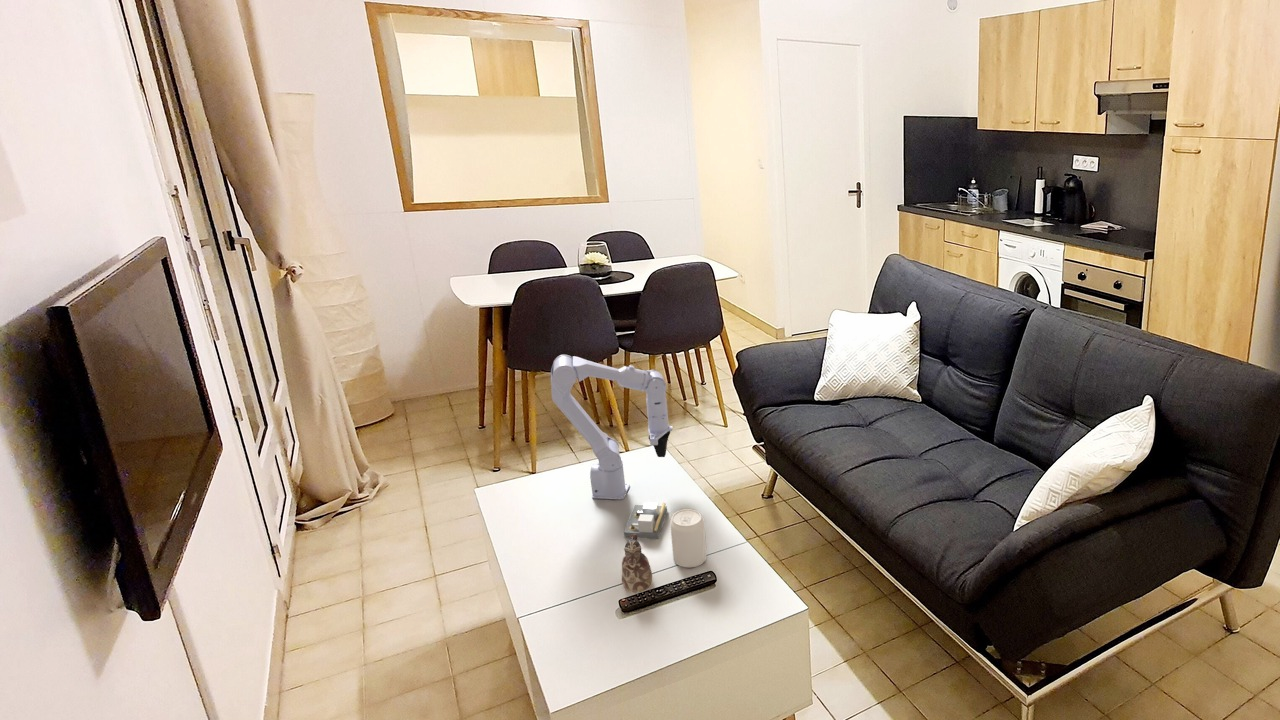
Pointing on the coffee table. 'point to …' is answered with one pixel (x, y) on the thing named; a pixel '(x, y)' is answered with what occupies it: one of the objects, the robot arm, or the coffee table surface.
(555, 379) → the robot arm
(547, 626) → the coffee table surface
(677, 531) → the beverage can
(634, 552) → the figurine
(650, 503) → the sliding leg
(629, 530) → the board
